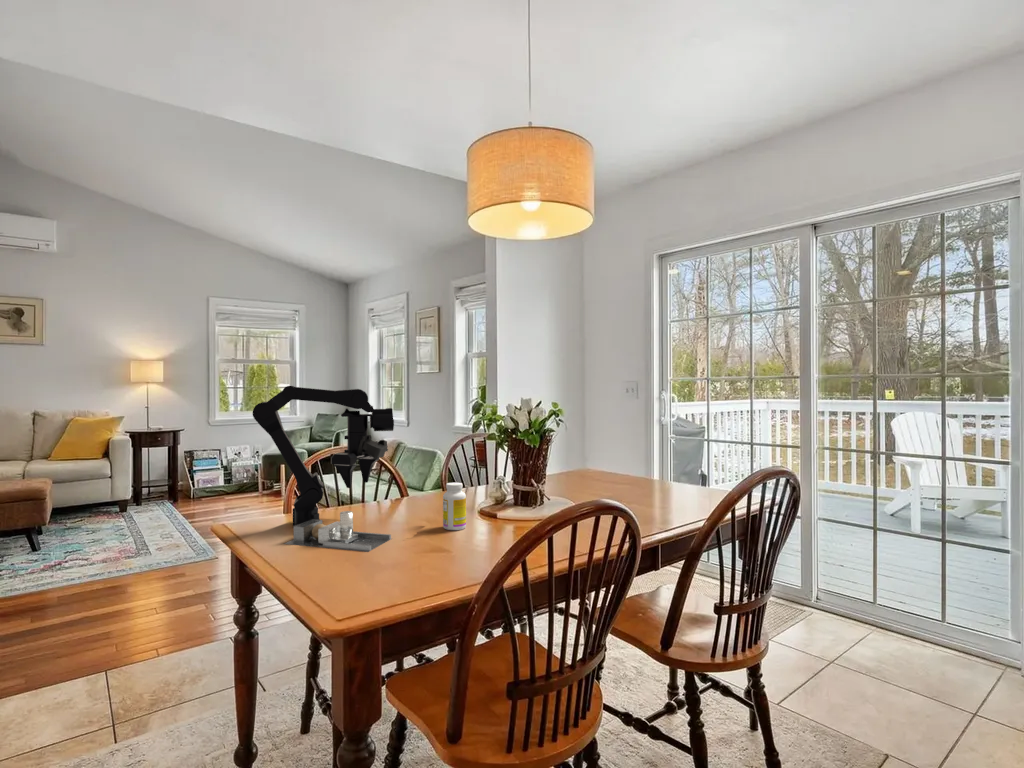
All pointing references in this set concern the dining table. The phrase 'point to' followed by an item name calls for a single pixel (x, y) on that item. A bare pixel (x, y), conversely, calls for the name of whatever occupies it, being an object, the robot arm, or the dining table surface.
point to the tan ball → (316, 530)
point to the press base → (362, 543)
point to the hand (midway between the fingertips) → (357, 485)
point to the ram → (338, 530)
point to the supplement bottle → (454, 507)
